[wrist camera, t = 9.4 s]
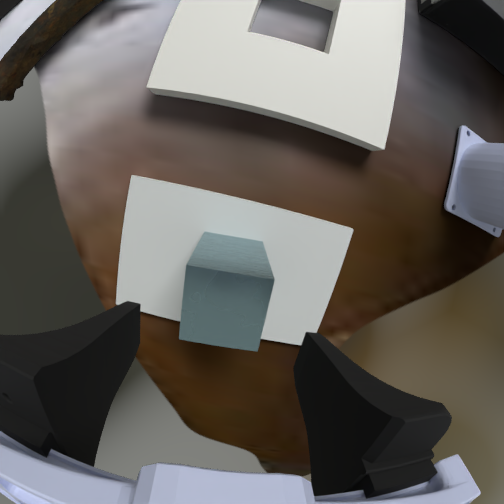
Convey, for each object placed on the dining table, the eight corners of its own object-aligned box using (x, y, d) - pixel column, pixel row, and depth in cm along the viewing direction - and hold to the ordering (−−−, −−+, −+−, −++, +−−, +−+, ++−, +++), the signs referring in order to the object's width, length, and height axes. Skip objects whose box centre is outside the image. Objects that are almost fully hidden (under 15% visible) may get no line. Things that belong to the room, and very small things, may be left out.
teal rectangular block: (262, 241, 20) (274, 279, 13) (251, 294, 21) (257, 351, 14) (204, 231, 19) (186, 265, 12) (196, 285, 20) (178, 339, 14)
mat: (350, 227, 20) (353, 229, 20) (308, 342, 23) (310, 346, 22) (134, 175, 18) (131, 175, 18) (118, 300, 21) (116, 304, 20)
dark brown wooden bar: (14, 107, 16) (-19, 102, 11) (4, 82, 15) (-26, 75, 10) (182, -30, 14) (173, -61, 9) (162, -47, 13) (151, -76, 8)
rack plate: (395, -2, 14) (405, -11, 12) (371, 150, 19) (384, 149, 17) (219, -52, 13) (217, -65, 11) (154, 94, 17) (146, 87, 15)
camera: (505, 39, 14) (559, 25, 5) (506, 92, 17) (571, 86, 7) (418, -34, 13) (466, -73, 3) (413, 12, 15) (476, -31, 5)
